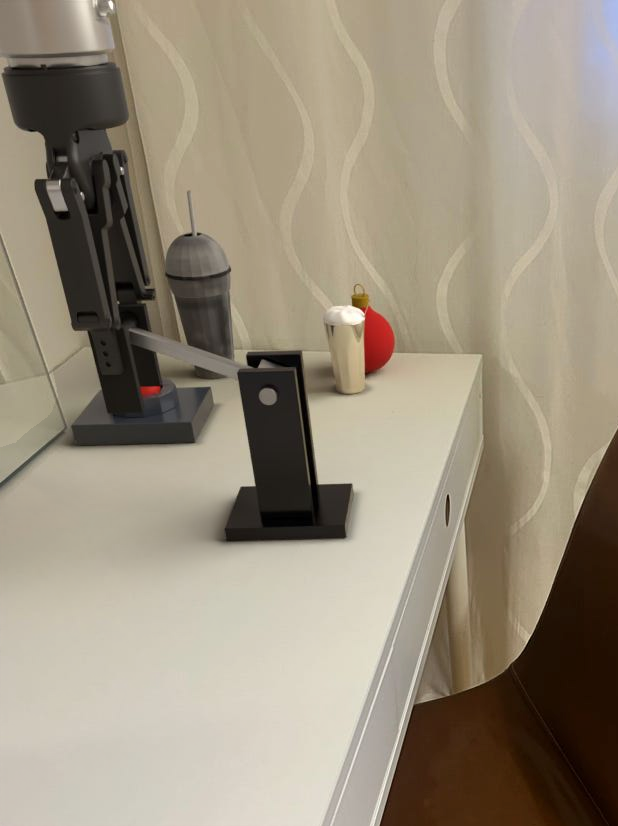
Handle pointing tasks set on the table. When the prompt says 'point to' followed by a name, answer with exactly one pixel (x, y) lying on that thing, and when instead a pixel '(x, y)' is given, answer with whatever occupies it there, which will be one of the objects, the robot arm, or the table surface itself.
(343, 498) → the bracket
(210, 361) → the lever
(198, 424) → the control block
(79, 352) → the table surface
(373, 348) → the christmas ornament
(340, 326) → the milkshake
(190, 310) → the beverage cup
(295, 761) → the table surface
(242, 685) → the table surface
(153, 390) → the button
